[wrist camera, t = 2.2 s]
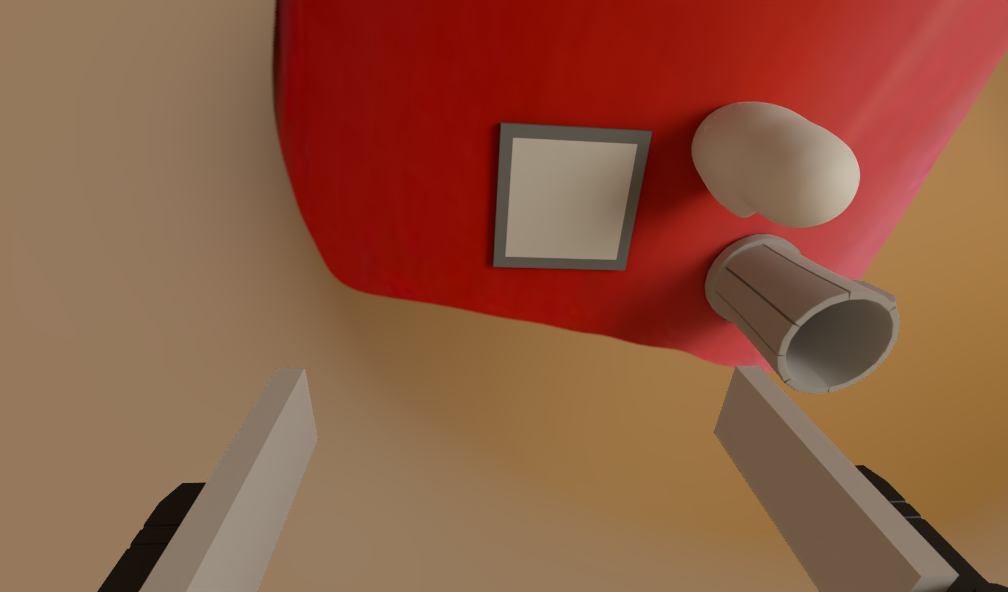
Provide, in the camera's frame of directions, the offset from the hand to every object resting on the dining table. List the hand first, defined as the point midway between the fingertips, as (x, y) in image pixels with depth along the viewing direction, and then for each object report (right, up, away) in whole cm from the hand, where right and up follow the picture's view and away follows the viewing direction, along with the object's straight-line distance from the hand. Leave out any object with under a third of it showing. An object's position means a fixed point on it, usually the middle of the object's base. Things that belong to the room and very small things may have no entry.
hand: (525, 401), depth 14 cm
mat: (+5, +11, +25) cm, 28 cm away
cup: (+23, +6, +29) cm, 38 cm away
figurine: (+18, +16, +24) cm, 34 cm away
